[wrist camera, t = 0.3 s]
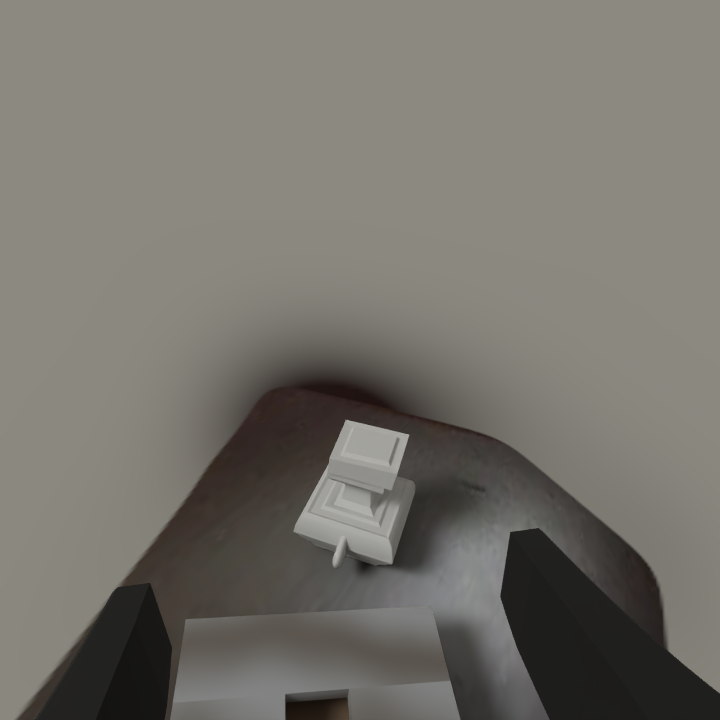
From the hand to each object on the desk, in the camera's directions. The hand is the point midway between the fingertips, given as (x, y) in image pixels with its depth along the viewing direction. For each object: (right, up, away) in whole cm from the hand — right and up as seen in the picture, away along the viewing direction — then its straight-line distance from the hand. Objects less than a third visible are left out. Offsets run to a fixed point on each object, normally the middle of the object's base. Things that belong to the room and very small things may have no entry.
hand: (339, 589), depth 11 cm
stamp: (0, -8, +27) cm, 28 cm away
